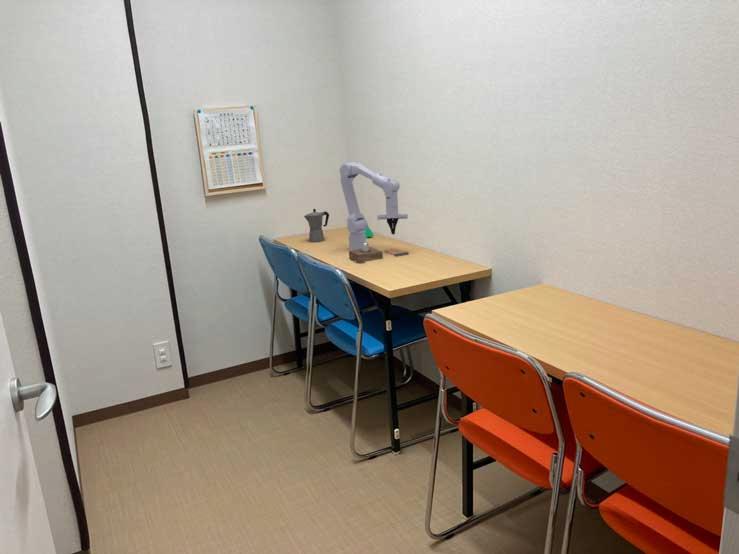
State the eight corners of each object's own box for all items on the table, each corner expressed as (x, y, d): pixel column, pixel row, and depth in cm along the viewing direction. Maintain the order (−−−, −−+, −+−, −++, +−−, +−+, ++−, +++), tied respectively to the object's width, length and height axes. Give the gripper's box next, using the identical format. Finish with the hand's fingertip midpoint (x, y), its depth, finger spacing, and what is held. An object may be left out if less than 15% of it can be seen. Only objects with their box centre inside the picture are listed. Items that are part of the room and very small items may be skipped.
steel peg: (361, 259, 280) (360, 242, 277) (367, 258, 281) (366, 241, 279) (364, 260, 277) (363, 243, 275) (370, 259, 278) (369, 243, 276)
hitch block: (349, 258, 282) (348, 250, 281) (371, 255, 286) (371, 247, 285) (359, 263, 271) (359, 255, 270) (382, 259, 276) (382, 251, 275)
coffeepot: (310, 243, 321) (307, 211, 316) (302, 241, 329) (299, 209, 324) (334, 239, 329) (332, 207, 324) (326, 237, 337) (324, 206, 332)
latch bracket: (394, 257, 279) (394, 253, 279) (406, 255, 282) (406, 251, 282) (396, 258, 278) (396, 254, 277) (408, 255, 281) (408, 252, 280)
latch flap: (384, 251, 289) (384, 249, 289) (394, 250, 291) (394, 247, 291) (394, 256, 280) (394, 254, 280) (405, 255, 282) (405, 252, 282)
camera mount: (368, 235, 335) (367, 217, 332) (373, 238, 328) (372, 219, 325) (348, 238, 331) (347, 220, 328) (353, 240, 324) (351, 222, 321)
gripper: (407, 204, 283) (408, 231, 287) (377, 205, 285) (379, 232, 289) (406, 206, 276) (407, 234, 280) (376, 207, 278) (377, 235, 282)
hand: (393, 233), depth 284 cm, fingers closed
